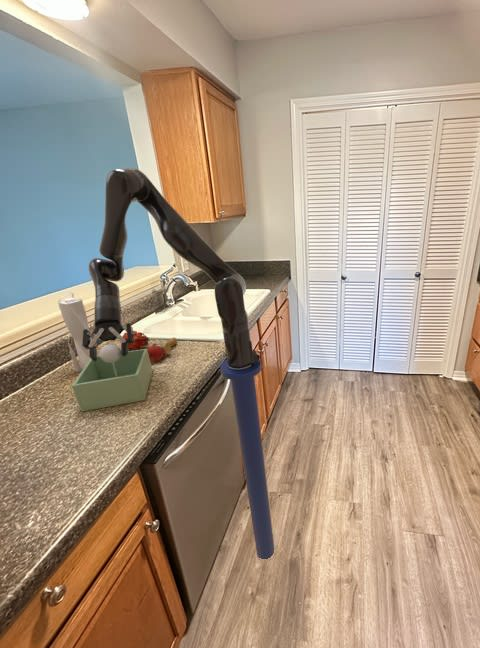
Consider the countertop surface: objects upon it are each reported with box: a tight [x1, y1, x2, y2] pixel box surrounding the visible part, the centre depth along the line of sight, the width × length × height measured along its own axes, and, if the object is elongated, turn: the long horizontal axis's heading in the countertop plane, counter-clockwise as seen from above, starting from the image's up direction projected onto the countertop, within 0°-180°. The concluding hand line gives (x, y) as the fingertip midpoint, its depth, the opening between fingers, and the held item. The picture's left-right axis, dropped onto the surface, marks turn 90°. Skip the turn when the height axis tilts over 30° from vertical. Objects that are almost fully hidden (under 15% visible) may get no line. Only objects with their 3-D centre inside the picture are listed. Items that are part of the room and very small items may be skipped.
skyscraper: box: [57, 292, 99, 374], centre depth 118 cm, size 8×8×28 cm
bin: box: [71, 348, 154, 412], centre depth 105 cm, size 18×20×9 cm
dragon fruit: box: [120, 330, 151, 351], centre depth 135 cm, size 8×8×12 cm
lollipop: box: [98, 343, 121, 377], centre depth 104 cm, size 6×6×15 cm
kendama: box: [146, 337, 178, 362], centre depth 130 cm, size 8×6×18 cm
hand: (109, 357), depth 101 cm, fingers open, 8 cm apart
